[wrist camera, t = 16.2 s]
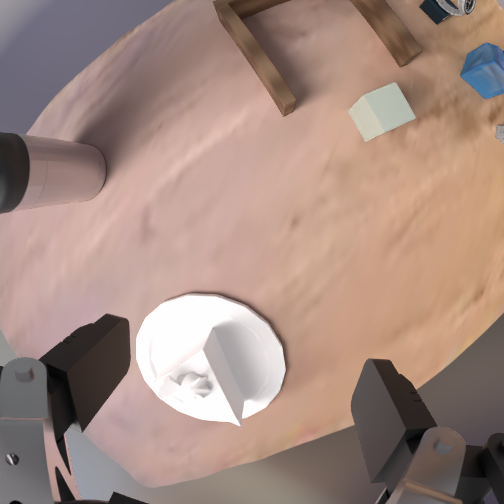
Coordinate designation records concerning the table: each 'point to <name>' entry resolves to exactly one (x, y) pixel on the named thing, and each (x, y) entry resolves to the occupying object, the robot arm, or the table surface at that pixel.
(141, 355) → the dish
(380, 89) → the sage block
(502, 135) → the eiffel tower
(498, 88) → the perfume bottle
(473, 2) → the watch
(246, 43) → the walnut u-shaped frame
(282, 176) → the table surface
